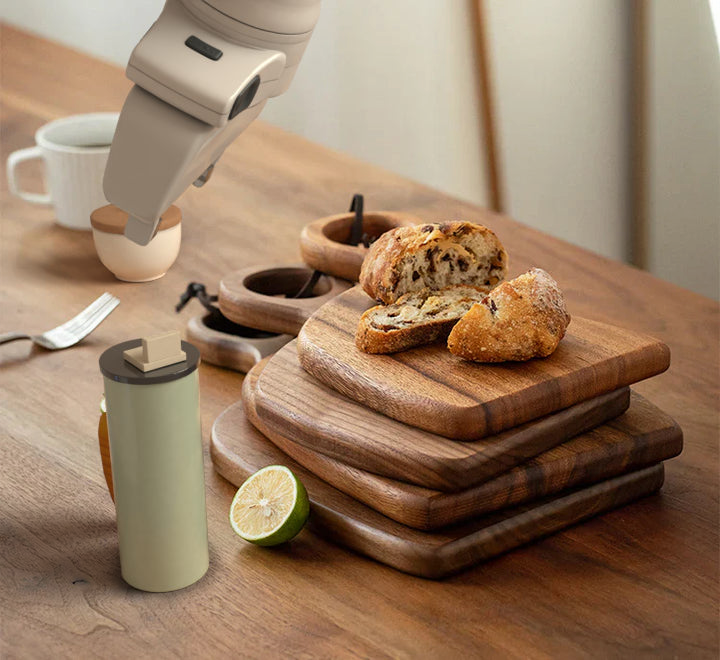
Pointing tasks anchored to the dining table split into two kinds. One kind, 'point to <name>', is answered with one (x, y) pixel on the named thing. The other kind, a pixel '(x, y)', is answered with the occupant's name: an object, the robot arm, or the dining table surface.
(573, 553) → the dining table surface
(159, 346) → the cup slider
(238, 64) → the robot arm
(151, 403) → the travel cup
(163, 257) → the lidded bowl
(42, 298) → the dining table surface
